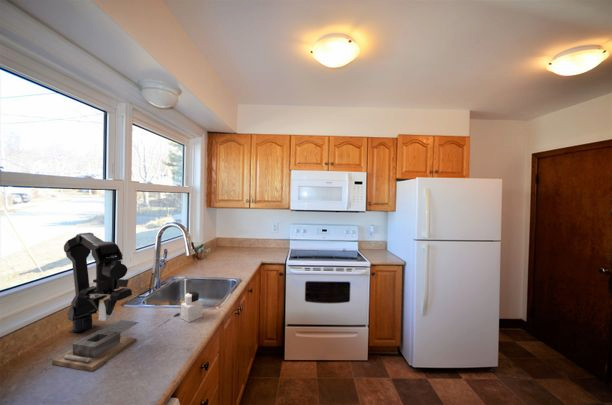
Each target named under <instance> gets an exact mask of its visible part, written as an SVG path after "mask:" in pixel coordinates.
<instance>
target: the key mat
mask: <svg viewBox="0 0 612 405" xmlns="http://www.w3.org/2000/svg"><path fill="white" fill-rule="evenodd" d="M139 323H140V321H134V320H133V321H132V320H131V321H130V320H126V319H125V320H123V319H120V320H118V321H117V322H114V323H112V324H111V325H109V326H107V327H105V328H103V329H102V330H107V331H114V332H120V334H121V333H123V332H126V330H129V329H131V328H132V327H133V326H136V325H137V324H139Z"/></svg>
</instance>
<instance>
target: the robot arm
mask: <svg viewBox="0 0 612 405" xmlns="http://www.w3.org/2000/svg"><path fill="white" fill-rule="evenodd" d="M63 251H64V253H65V255H66V257H67V258H68V259H69V260H70V261H71V263H72V264H71V265H72V271H73V272H72V273H73V281H74V291H75V296H74V297H73V299H72V301H71V303H70V305H71V306H70V308H69V309H68V311H67V313H66V316H67V320H69V321H71V322H72V329H71V330H69V331H68V333H69V334H70V333H72V334H77V335H78V334H79V335H80V334H81V335H82V334H83V333H85V332H87V331H89V330H92V329H93V328H95V327H96V325H93V315H95V314H97V313H99V299H102V298H104V297H108V299H106V300H104V305H105V308H106V311H107V314H108V315H111V314H112V312H113V311H114V310H115V307H116V304H117V302H118V301H122V300H124V299H126V298H129V297H131V296H133V289H131V288H127V287H128V285H129V284H128V283H129V281H130V280H129V279H124V277H125V276H126V275H127V273H128V268H127V266H126V265H125V264H124V263H122V260H123V259H124V258H123V256H124V255H123V254H122V252H121V249H120V248H119V245H117V244H116V242H112V241H104V240H103V239H100V238H99V237H98V236H95V234H94V232H82V233H77V234H76V235H75V236H74V237H72V238H70V239H68V240H66V242H65V243H64V244H63ZM90 253H91V256H92V258H93V259H94V264H95V279H93V280H92V283H96V284H95V286H94V285H92V286H90V279H89V278H90V277H89V268H88V260H87V259H88V257H89V256H90Z"/></svg>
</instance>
